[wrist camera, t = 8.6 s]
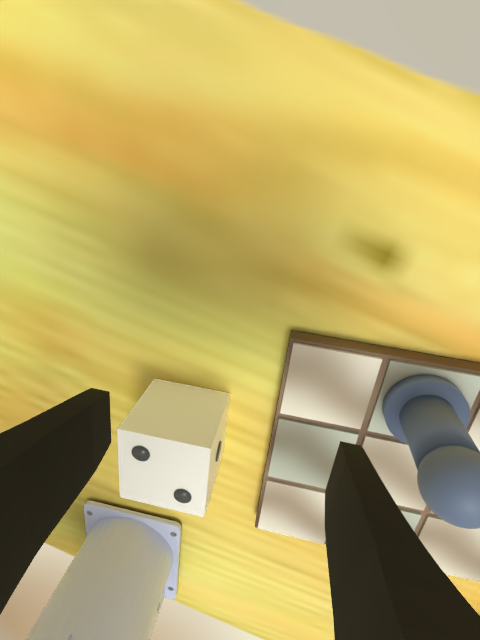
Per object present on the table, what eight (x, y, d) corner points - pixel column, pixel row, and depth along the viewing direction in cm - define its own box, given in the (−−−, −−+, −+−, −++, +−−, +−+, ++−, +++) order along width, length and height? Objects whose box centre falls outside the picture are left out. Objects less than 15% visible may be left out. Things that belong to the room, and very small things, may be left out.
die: (224, 452, 24) (205, 518, 20) (154, 437, 25) (119, 498, 20) (231, 392, 22) (211, 450, 18) (154, 377, 23) (116, 429, 18)
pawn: (449, 443, 19) (512, 567, 13) (374, 428, 20) (401, 541, 14) (476, 382, 18) (561, 491, 12) (393, 367, 18) (434, 464, 12)
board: (473, 565, 24) (481, 584, 23) (256, 514, 26) (254, 529, 25) (583, 381, 18) (601, 394, 17) (291, 330, 20) (290, 339, 19)
